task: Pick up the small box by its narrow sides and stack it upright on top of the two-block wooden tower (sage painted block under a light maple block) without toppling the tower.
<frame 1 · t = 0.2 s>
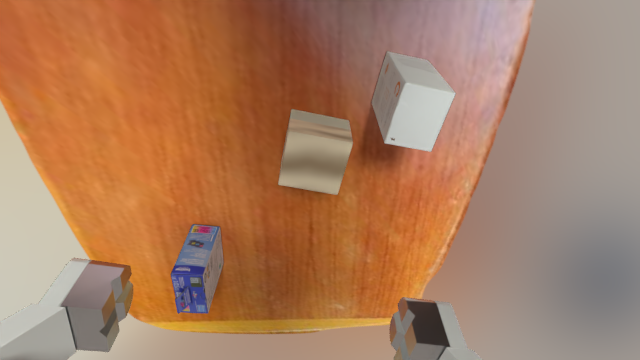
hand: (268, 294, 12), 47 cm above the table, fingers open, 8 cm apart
small box: (398, 81, 57), on the table
tower base block: (314, 139, 63), on the table, touching tower top block
ink cartridge box: (207, 243, 75), on the table
tower top block: (314, 150, 59), point 4 cm above the table, touching tower base block
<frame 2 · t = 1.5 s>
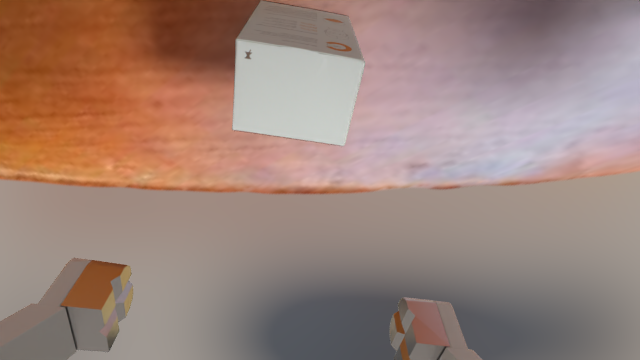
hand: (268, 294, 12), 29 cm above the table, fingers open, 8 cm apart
small box: (300, 43, 36), on the table
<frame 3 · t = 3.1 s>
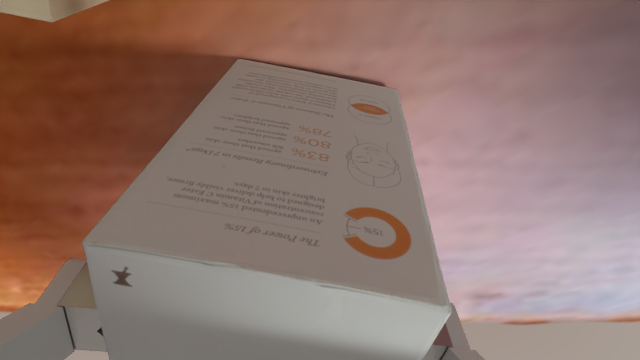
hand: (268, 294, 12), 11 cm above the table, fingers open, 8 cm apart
small box: (309, 128, 21), on the table, touching gripper
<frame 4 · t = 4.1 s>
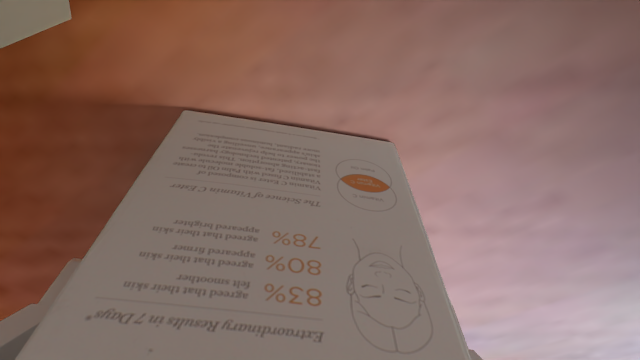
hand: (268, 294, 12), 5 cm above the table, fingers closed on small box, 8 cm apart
small box: (282, 189, 16), on the table, touching gripper
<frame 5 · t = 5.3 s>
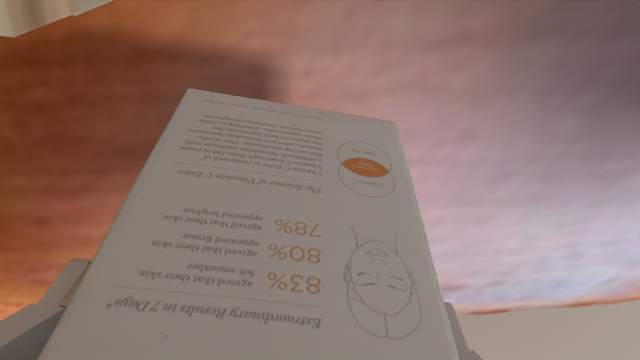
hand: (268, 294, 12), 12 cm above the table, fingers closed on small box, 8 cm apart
small box: (285, 164, 17), point 5 cm above the table, touching gripper
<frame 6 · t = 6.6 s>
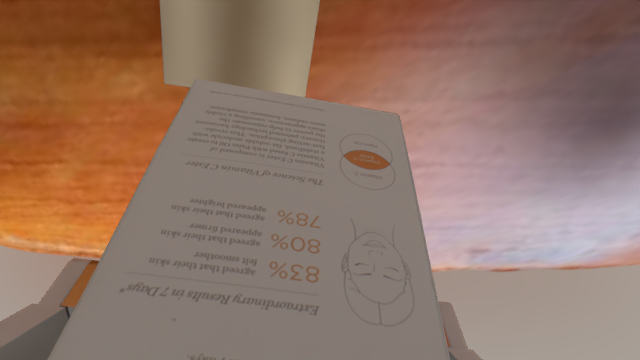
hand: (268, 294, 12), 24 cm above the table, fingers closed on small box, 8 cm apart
small box: (290, 153, 17), point 17 cm above the table, touching gripper
tower top block: (249, 9, 26), point 4 cm above the table, touching tower base block
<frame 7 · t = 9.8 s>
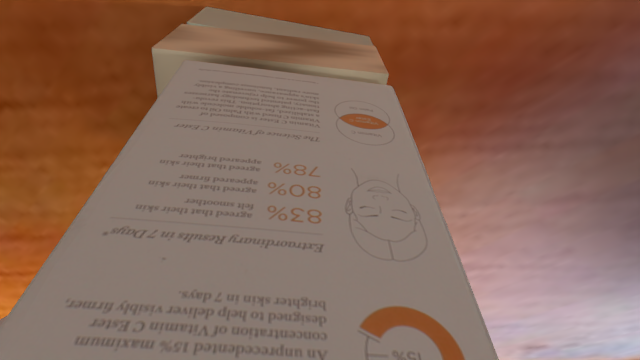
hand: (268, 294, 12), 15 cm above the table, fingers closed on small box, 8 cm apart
small box: (285, 139, 17), point 8 cm above the table, touching gripper, tower top block
tower base block: (280, 97, 24), on the table, touching tower top block
tower top block: (275, 122, 21), point 4 cm above the table, touching small box, tower base block
when the fingers open (15 cm above the table, at t = 9.9 s): small box moves 2 cm, resting on tower top block.
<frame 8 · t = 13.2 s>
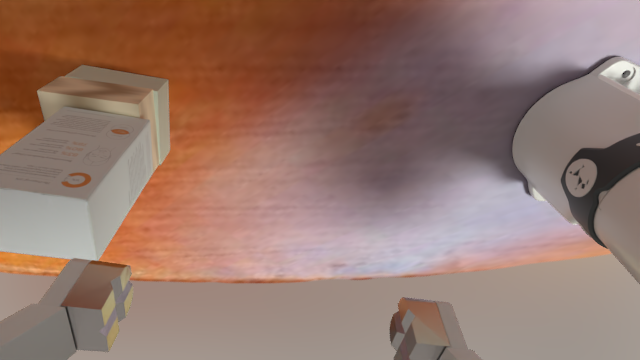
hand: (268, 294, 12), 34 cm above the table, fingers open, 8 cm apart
small box: (112, 140, 39), point 7 cm above the table, touching tower top block
tower base block: (130, 108, 45), on the table, touching tower top block
tower top block: (113, 122, 42), point 3 cm above the table, touching small box, tower base block
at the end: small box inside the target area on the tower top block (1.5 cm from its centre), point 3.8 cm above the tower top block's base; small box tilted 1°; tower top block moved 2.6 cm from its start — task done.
